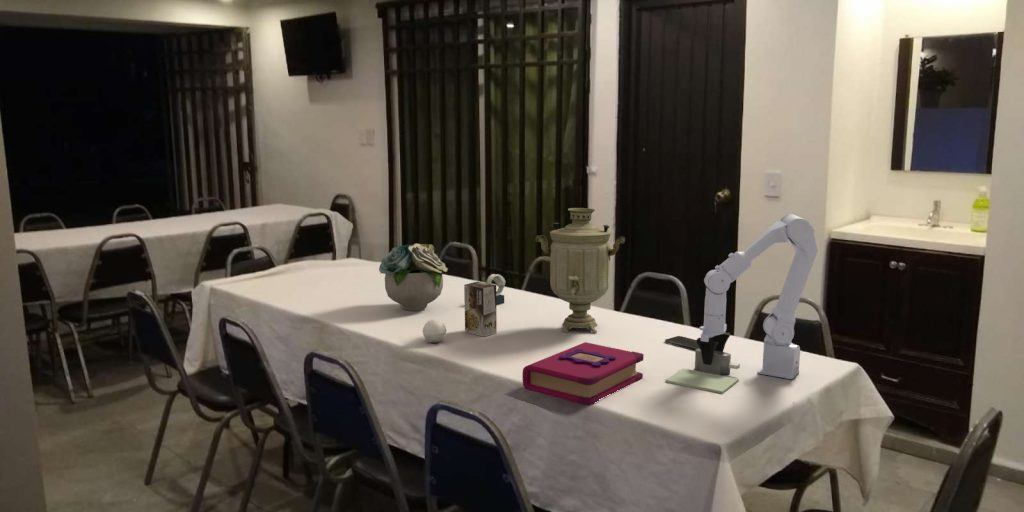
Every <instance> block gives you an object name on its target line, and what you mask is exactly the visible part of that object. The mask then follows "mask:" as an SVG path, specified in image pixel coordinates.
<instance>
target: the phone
mask: <svg viewBox="0 0 1024 512" xmlns="http://www.w3.org/2000/svg"><path fill="white" fill-rule="evenodd" d="M664 343H666V344H668V345H673V346H676V347H680V348H683V349H687V350H691V351H696V349H700V348H699V345H698V344H697V339H693V338H690V337H686V336H683V335H682V336H681V335H677V336H673V337H670V338H666V339H664Z"/></svg>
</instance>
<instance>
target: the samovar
mask: <svg viewBox="0 0 1024 512" xmlns="http://www.w3.org/2000/svg"><path fill="white" fill-rule="evenodd" d="M567 210H568V211H569V217H570V220H571V221H572V222H571V223H569V224H567V225H565V227H562V228H559V224H560V223H559V222H554V223H552V226H554V230H551V231H549V233H550V238H551V240H552V242H551V245H550V247H549V242H548V239H547V237H546V236H545V235H541V234H540V235H538V234H537V235H536V236H535V238H534V241H535V242H536V243H537V242H540V248H541V250H542V251H543V253H544V254H547V255H549V258H550V259H549V260H550V263H549V264H550V268H549V269H550V270H549V273H550V274H549V275H550V277H549V278H550V281H549V283H550V289H551V291H552V292H553V294H554V295H556V296H557V297H558V298H559V299H561V300H562V301H564V302H565V303H569V304H568V307H569V310H571V311H572V313H571V314H570V313H569V314H568V315H567V317H565V318H564V320H563V322H562V325H564V328H563V329H562V330H561V333H563V334H565V333H568V331H570V330H571V329H573V328H575V329H579V328H580V329H585V328H586V329H588V330H589V331H590V332H591V334H594V335H595V334H597V333H598V331H597V329H595V326H598V324H597V322H596V319H595V318H594V317H593V316H592V315H591V314H589V313H588V311H590V310H591V303H594V302H596V301H598V300H599V299H601V298H602V297H603V296H604V295H605V296H606V293H607V292H608V290H609V287H610V264H611V263H610V262H611V257H612V256H615V254H616V253H617V252H618V251H619V249H620V245H623V244H625V243H626V237H625V236H618V237H617V238H616V240H615V241H614V244H613V245H612V248H611V246H610V244H609V241H610V238H611V234H612V232H611V231H609V228H610V225H608V224H603V225H602V226H603V229H601V228H598V227H597V226H596V225H594V224H592V223H590V221H591V220H592V214H593V213H594V212H595V211H596V209H593V208H588V207H587V208H586V207H585V208H584V207H572V208H571V207H570V208H568V209H567Z"/></svg>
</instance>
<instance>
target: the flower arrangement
mask: <svg viewBox="0 0 1024 512" xmlns="http://www.w3.org/2000/svg"><path fill="white" fill-rule="evenodd" d="M435 249H436V248H435V247H434V245H433V244H428V243H425V244H422V243H421V244H420V243H415V242H413V243H410V244H405V245H399V246H397V247H396V246H394V247H393V248H391V250H390V252H389V253H388V254H387V255H386V256H384V257H383V258H382V259H381V261H380V264H379V267H378V271H379V273H380V274H379V275H381V274H383V275H384V287H385V292H386V295H387V297H388V298H389V299H390V300H392V302H395V303H397V304H399V305H400V306H401V308H402V310H404V311H410V312H417V311H418V312H419V311H423V310H425V309H427V307H428V304H431V303H432V302H434V301H435V300H436V299H438V297H439V296H441V294H442V292H443V291H442V290H443V288H444V276H443V272H445V273H446V272H448V270H449V268H448V267H447V266H446V264H445V262H443V261H441V260H440V258H439V256H440V255H439V253H438V252H437V253H435V252H436V250H435Z"/></svg>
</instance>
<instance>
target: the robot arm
mask: <svg viewBox="0 0 1024 512" xmlns="http://www.w3.org/2000/svg"><path fill="white" fill-rule="evenodd" d="M788 242H790V244H791V245H792V247H793V250H795V254H794V256H793V260H792V262H791V265H790V268H789V270H788V272H787V276H786V278H785V281H784V284H783V286H782V288H781V292H780V295H779V297H778V300H777V303H776V305H775V306H774V307H772V309H771V311H770V313H769V314H768V316H767V317H765V318H764V320H763V324H762V328H763V331H764V332H765V337H764V339H763V353H762V354H763V355H762V367H761V368H760V369H758V370H757V372H756V373H757V374H759V375H765V376H766V375H767V376H769V377H770V376H771V377H776V378H781V379H785V380H786V379H787V380H792V379H794V378H795V377H796V376H797V375H798V374H799V373H800V361H801V359H800V358H801V347H800V345H797V344H795V343H793V342H792V340H793V339H794V336H795V329H794V328H795V324H796V310H797V308H798V305H799V302H800V300H801V297H802V294H803V292H804V288H805V286H806V283H807V282H808V278H809V276H810V273H811V271H812V267H813V265H814V262H815V259H816V257H817V254H818V246H817V242H816V237H815V229H814V228H813V226H812V225H811V224H810V222H809V220H807V219H805V218H802V217H800V216H799V215H796V214H792V213H788V214H786V215H783V217H781V219H780V220H777V221H775V222H774V223H773V224H772V225H771V226H770V227H769V228H768V229H767V230H765V231H764V232H763V233H762V234H761V235H760V236H758V238H757V239H756V240H754V241H753V242H752V243H751V244H750V245H749V246H747V248H745V249H744V251H735V252H734V253H733V252H730V253H729V254H728V257H727V259H726V260H724V261H723V262H722V263H721V264H719V265H718V264H717V265H716V266H715V267H714V268H715V269H711V270H709V271H708V272H707V273H706V274H705V277H704V278H703V282H704V285H705V297H704V309H703V310H704V315H703V325H701V326H699V330H700V331H702V332H701V334H700V337H698V338H696V340H697V344H698V345H699V348H700V350H701V354H702V360H703V364H707V365H711V364H712V361H713V355H714V351H720V352H724V351H725V350H724V349H725V347H726V344H727V342H728V339H729V338H730V337H731V333H730V332H727V327H728V325H727V323H726V315H727V314H726V313H727V312H726V311H727V291H729V289H730V286H731V283H733V282H734V281H736V280H737V279H738V278H740V276H742V275H743V274H744V273H745V272H747V271H748V270H749V269H751V267H752V261H753V260H755V259H756V258H758V256H760V255H762V254H763V253H764V252H766V250H768V249H770V248H771V247H772V246H774V245H775V244H779V243H788Z"/></svg>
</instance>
